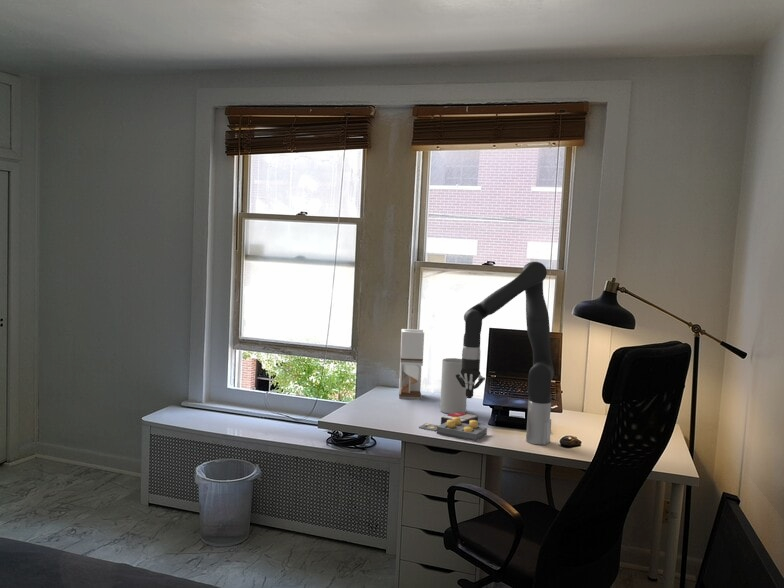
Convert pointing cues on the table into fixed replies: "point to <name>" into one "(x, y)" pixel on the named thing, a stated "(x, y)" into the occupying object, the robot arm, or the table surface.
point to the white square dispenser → (411, 363)
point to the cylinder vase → (452, 387)
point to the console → (462, 432)
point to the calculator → (464, 417)
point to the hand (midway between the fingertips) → (469, 397)
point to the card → (429, 427)
